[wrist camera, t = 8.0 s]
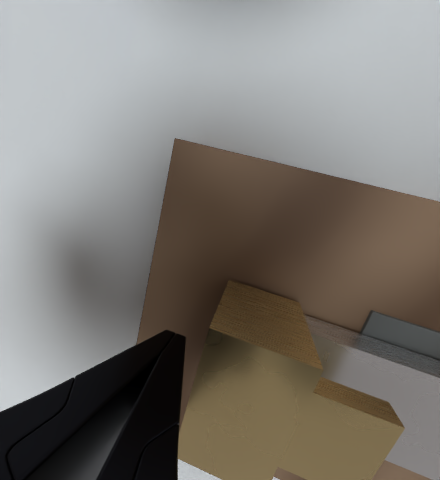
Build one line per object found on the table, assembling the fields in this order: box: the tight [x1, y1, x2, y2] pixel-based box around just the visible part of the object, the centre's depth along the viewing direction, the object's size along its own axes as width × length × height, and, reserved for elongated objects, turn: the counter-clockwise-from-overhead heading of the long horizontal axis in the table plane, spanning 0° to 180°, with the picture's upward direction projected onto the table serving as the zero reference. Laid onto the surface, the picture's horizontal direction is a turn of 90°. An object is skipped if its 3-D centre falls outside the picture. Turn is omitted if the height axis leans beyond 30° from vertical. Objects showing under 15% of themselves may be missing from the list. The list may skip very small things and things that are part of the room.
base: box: [136, 138, 440, 480], centre depth 8 cm, size 23×15×4 cm, turn 75°
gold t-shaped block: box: [178, 280, 405, 480], centre depth 7 cm, size 6×5×3 cm
